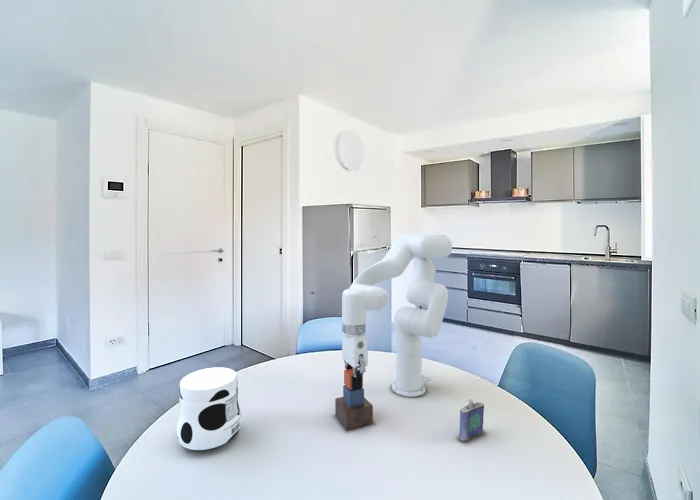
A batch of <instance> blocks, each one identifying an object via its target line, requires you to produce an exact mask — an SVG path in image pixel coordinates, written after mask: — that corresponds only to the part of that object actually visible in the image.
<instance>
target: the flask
mask: <svg viewBox="0 0 700 500" xmlns="http://www.w3.org/2000/svg"><path fill="white" fill-rule="evenodd" d="M484 413H485V404H484V403H482V402H480V401H476V402H474V401H473V400H472V399H471V398H470V399H469V398H468V404H467V405H465V406H463V407H461V408H460V410H459V431H458V432H459V434H458V437H459V441H461V442H462V443H465V442H470V440H474V439H475V438H478V437H479V436H481V435H483V434H484Z"/></svg>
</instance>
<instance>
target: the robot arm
mask: <svg viewBox="0 0 700 500" xmlns="http://www.w3.org/2000/svg"><path fill="white" fill-rule="evenodd" d="M452 251H453V243H452V241H451V239H450V238H449V237H448V236H447V235H438V234H437V235H436V234H428V233H404V234H402V235H400V236H399V237H397V239H396V241H395V242H394V243H393V245H392V246H391V247H390V248H389V250H388V252H386V254H385V255H384V257H383V258H382V259H381V260H379V261H377V262H375V263H374V264H372V265H371V266H368V267H367V268H365V269H363V271H361V272H360V273H359V274H358V275H357V276H356V278H355V279H353V282H352V283H351V284H350V286H349V288H346V289H344V290H343V291H342V294H341V334H342V340H341V341H342V342H341V357H342V359H343V362H344V370H348V369H353V375H354V376H352V389H359V388H363V387H362V376H363V377H364V373H366V372H367V369H366V367H368V365H369V352H368V349H369V348H368V341H367V340H368V339H367V312H369V311H380V310H383V309H384V308H386V306H387V305H388V303H389V301H390V300H389V294H388V292H387V290H386V289H385V288H383V287H379V286H375V285H376V284H379V283H381V282H384V281H388V280H391V279H395V278H398V277H400V276H401V275H403V273H404V272H405V271H406V269H407V268H408V266H409V264H410V263H411V261H413V271H412V275H411V278H410V280H409V284H408V286H407V290H406V294H405V298H406V301H407V302H408V303H410V304H411V305H415V306H419V307H423V308H427V309H422V308H418V307H414V306H413V307H412V306H401V307H399V308H398V309H397V310H396V311H395V312H394V315H393V324H394V330H395V334H396V335H395V336H396V337H395V338H396V349H395V351H396V353H395V356H396V358H395V359H396V361H395V362H396V364H395V381H393V382H392V384H391V388H392V391H393V392H394V393H396V394H397V395H399V396H402V397H408V398H410V397H411V398H414V397H415V398H416V397H420V396H422V395H424V394H425V392H426V386H425V384H426V383H430V382H432V380H433V378H432V376H430V375H428V376H425V374H422V372H423V371H422V365H423V363H422V362H423V343H422V339H421V338H422V337H423V338H427V339H433V338H435V337H436V336H438V335H439V333H440V331H441V328H442V324H443V320H444V317H445V313H446V310H447V307H448V302H449V290H448V288H447V287H446V286H445V285H444V284H442V283H438V282H434V280H435V277H436V272H437V271H436V267H435V265H434V263H433V261H432V260H433V259H446V258H448V257H449V256H450V255H451V253H452ZM356 369H359V370H358V371H357V372H356Z"/></svg>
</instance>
